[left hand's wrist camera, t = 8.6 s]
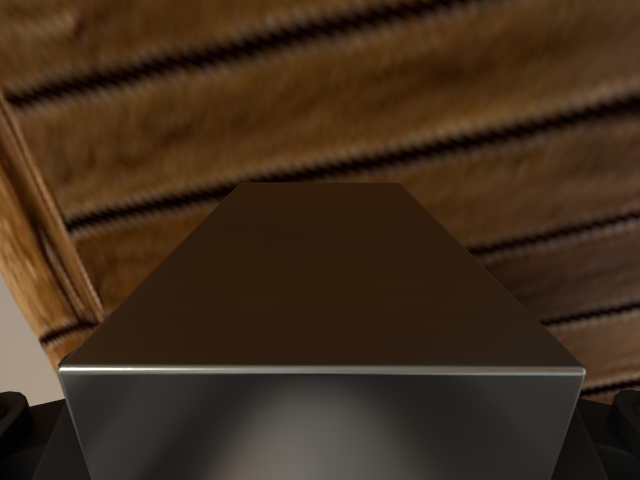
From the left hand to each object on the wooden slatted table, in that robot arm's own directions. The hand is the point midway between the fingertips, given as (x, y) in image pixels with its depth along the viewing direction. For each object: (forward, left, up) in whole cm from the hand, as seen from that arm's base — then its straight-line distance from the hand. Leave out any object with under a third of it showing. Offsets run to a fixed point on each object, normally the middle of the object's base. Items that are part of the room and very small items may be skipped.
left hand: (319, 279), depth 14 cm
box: (+2, +8, -1) cm, 8 cm away
